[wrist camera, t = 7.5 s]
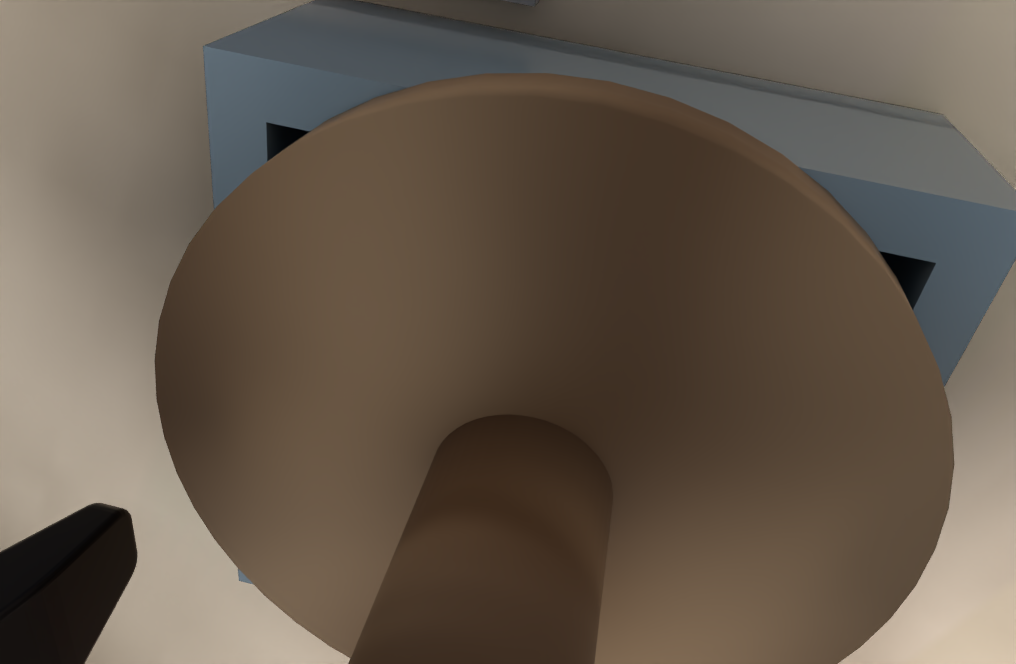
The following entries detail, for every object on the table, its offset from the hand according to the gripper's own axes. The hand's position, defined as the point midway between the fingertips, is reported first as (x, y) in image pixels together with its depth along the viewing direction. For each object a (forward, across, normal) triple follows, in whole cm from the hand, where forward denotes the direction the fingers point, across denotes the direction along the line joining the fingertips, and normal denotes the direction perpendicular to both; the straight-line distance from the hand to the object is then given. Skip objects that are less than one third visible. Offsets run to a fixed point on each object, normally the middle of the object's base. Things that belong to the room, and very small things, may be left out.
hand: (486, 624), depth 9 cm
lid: (+3, 0, 0) cm, 3 cm away
